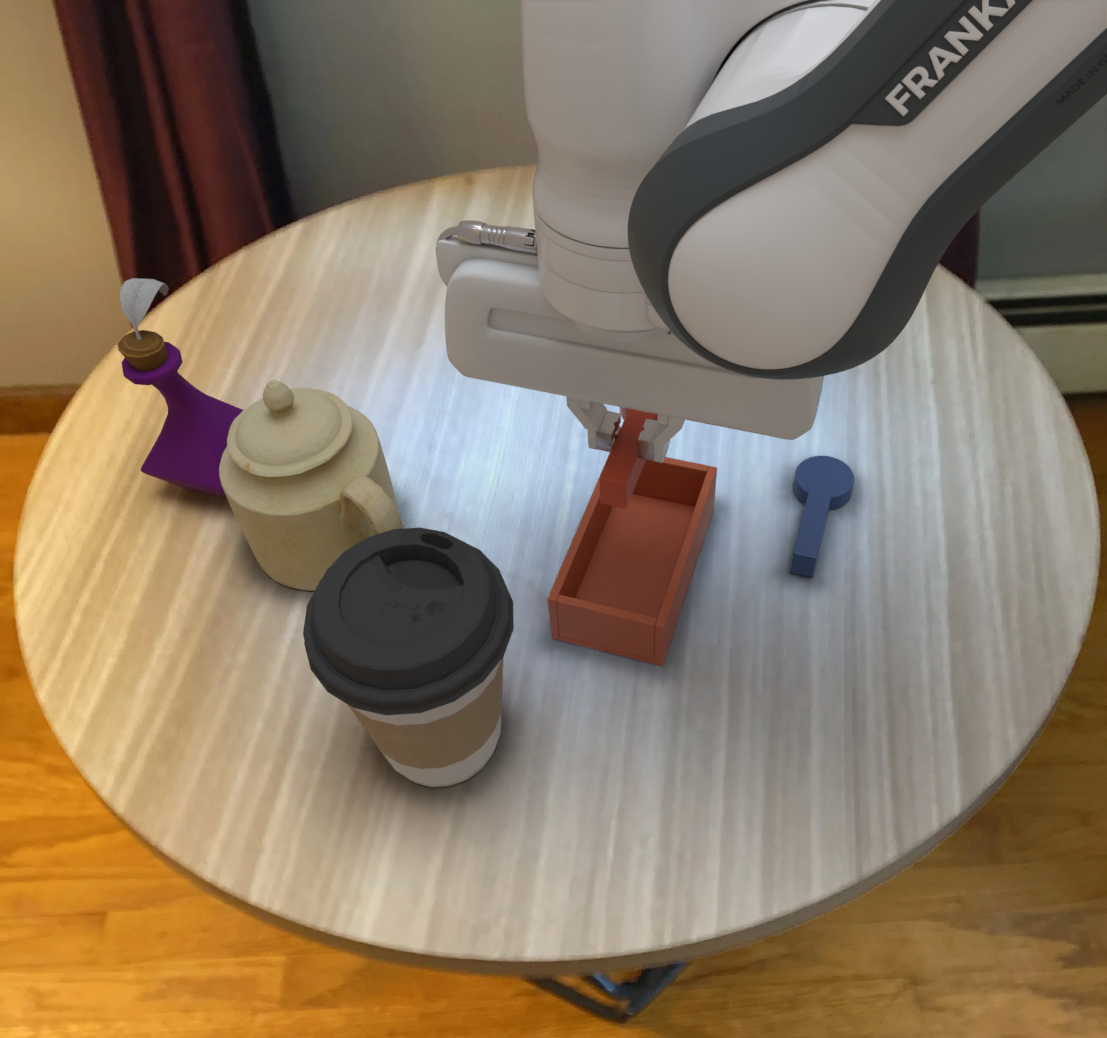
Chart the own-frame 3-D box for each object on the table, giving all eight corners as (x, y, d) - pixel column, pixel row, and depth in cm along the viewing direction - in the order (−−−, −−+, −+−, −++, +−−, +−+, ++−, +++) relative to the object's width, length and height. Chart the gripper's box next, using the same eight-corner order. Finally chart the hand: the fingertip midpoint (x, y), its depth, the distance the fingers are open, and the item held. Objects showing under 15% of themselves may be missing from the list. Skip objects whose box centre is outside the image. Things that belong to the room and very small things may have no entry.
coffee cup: (562, 693, 66) (546, 546, 55) (481, 850, 60) (443, 720, 49) (410, 637, 70) (365, 488, 59) (317, 779, 63) (247, 643, 52)
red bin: (714, 509, 76) (717, 466, 72) (662, 667, 67) (664, 627, 64) (613, 488, 78) (612, 445, 74) (551, 638, 69) (546, 598, 66)
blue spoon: (831, 582, 71) (836, 562, 69) (770, 568, 72) (773, 549, 70) (855, 474, 77) (860, 454, 75) (798, 463, 78) (802, 443, 76)
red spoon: (648, 514, 59) (648, 488, 57) (578, 498, 60) (576, 472, 58) (694, 393, 65) (696, 366, 63) (630, 380, 66) (630, 354, 64)
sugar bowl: (471, 504, 78) (442, 349, 66) (413, 620, 71) (369, 471, 60) (296, 467, 81) (240, 314, 70) (225, 574, 75) (150, 425, 63)
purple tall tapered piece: (238, 519, 78) (152, 332, 64) (154, 499, 80) (54, 314, 66) (285, 451, 83) (214, 262, 69) (205, 433, 85) (121, 247, 71)
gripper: (404, 251, 50) (444, 450, 61) (830, 321, 45) (792, 525, 55) (454, 182, 54) (483, 380, 64) (852, 239, 49) (813, 444, 59)
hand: (629, 448), depth 60 cm, fingers closed on red spoon, 1 cm apart
